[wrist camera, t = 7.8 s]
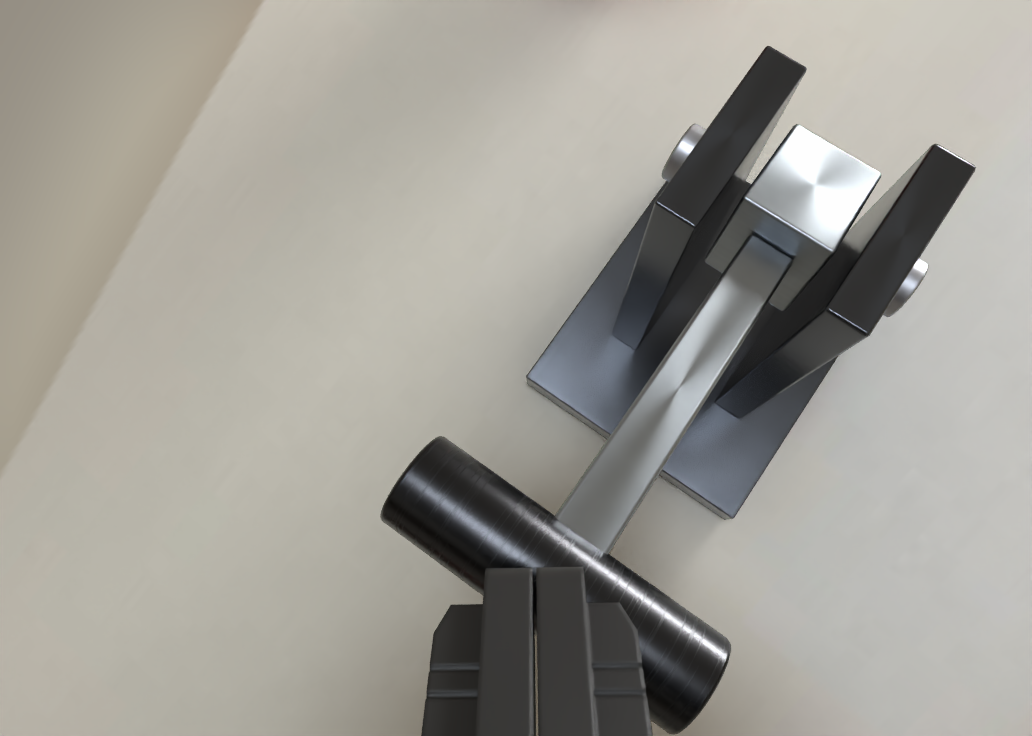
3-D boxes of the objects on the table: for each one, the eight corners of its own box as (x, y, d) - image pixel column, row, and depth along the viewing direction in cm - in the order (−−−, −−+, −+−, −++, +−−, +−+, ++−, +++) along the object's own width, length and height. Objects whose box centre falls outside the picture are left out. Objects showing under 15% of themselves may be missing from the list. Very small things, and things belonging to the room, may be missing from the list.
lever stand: (724, 520, 27) (864, 500, 15) (526, 383, 28) (515, 269, 16) (879, 282, 28) (1110, 100, 17) (684, 162, 29) (776, -84, 18)
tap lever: (652, 740, 14) (702, 732, 12) (378, 535, 15) (378, 494, 13) (899, 280, 20) (962, 218, 17) (688, 151, 20) (723, 77, 18)
